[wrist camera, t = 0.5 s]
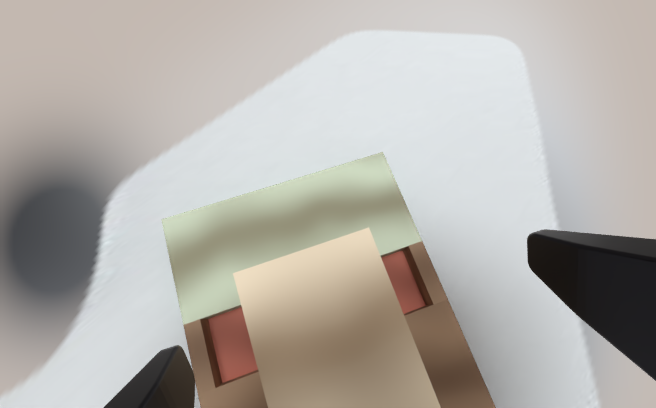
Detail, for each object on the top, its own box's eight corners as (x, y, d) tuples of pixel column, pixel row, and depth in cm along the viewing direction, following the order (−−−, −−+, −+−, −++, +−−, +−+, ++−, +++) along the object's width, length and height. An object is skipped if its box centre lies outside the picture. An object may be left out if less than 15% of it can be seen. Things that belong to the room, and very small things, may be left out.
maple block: (397, 386, 20) (449, 428, 12) (300, 426, 19) (291, 498, 12) (350, 258, 22) (368, 227, 15) (261, 288, 21) (232, 273, 14)
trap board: (490, 425, 21) (508, 436, 19) (241, 538, 19) (233, 562, 17) (377, 163, 27) (382, 152, 25) (173, 227, 24) (161, 219, 23)
